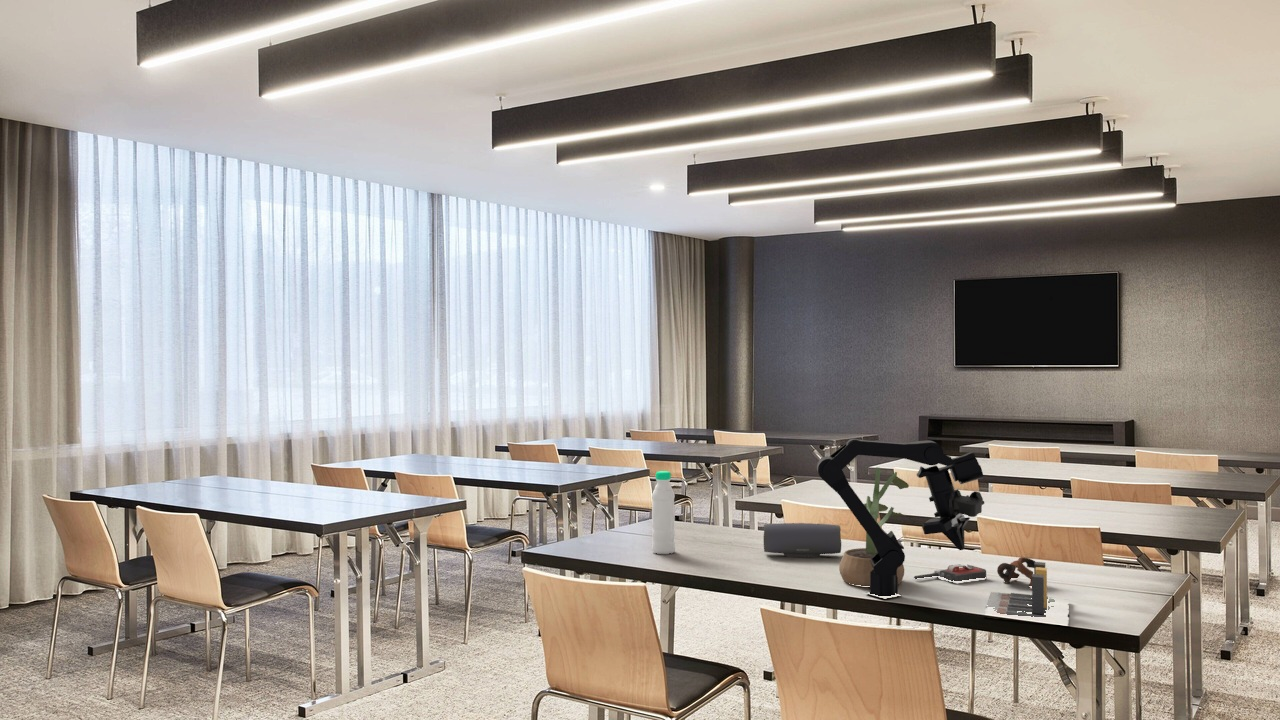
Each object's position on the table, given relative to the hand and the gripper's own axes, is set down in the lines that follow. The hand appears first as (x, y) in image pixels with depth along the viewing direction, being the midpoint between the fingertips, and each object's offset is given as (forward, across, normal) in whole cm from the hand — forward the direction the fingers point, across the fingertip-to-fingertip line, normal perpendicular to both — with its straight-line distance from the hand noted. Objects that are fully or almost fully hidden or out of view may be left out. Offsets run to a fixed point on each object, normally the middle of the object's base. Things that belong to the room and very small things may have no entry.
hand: (962, 549), depth 232 cm
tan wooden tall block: (+15, 0, -16) cm, 22 cm away
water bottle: (-12, -16, +91) cm, 93 cm away
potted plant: (+6, -1, +28) cm, 28 cm away
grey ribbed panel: (+16, -2, -13) cm, 20 cm away
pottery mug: (+17, +21, 0) cm, 27 cm away
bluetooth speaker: (0, +10, +60) cm, 61 cm away
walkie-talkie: (+12, +14, +15) cm, 24 cm away
